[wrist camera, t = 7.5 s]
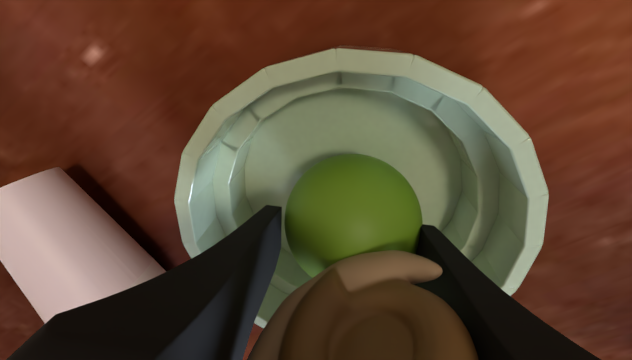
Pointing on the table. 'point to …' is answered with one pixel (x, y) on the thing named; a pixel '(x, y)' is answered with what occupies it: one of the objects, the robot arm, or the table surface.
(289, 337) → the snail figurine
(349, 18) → the table surface
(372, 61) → the bowl
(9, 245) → the smoothie
